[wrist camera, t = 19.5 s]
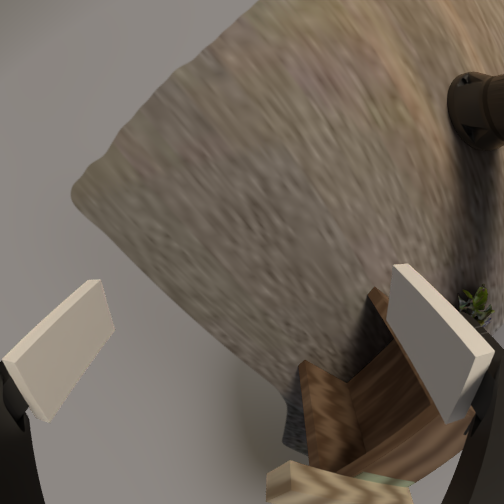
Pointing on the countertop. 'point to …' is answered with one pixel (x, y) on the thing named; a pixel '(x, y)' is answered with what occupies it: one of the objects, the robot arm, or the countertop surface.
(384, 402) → the walnut stand
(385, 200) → the countertop surface
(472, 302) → the passion flower
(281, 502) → the maple bar
